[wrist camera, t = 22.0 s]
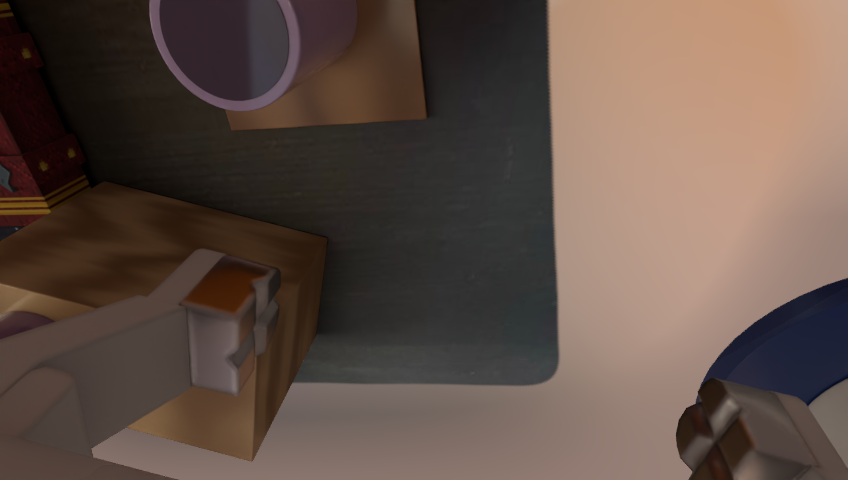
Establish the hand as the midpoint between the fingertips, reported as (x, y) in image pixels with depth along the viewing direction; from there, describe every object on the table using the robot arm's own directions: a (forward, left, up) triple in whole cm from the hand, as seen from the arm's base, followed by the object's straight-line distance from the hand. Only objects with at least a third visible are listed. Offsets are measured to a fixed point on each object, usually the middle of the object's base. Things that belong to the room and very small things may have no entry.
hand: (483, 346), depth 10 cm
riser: (+7, +25, -23) cm, 34 cm away
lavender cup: (+11, +5, -23) cm, 26 cm away
